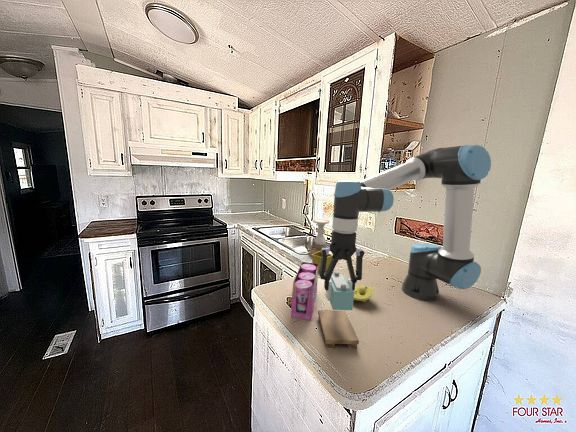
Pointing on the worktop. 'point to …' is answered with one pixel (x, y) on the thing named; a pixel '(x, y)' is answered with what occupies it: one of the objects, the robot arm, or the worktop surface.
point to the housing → (341, 293)
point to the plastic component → (363, 293)
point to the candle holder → (319, 236)
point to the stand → (337, 329)
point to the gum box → (304, 291)
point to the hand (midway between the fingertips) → (338, 298)
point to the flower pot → (317, 259)
